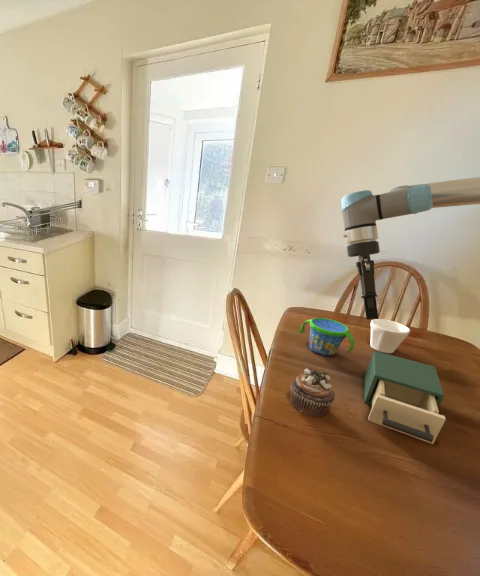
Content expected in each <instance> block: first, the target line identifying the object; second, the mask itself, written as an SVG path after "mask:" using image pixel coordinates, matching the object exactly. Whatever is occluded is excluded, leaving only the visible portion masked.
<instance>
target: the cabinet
mask: <svg viewBox="0 0 480 576" xmlns="http://www.w3.org/2000/svg"><path fill="white" fill-rule="evenodd" d="M377 379H381V380H385V381H388V382H391V383H395V384H398V385H401V386H405V387H408V388H411V389H415V390H418V391H421V392H425V393H428V394H431V395H434V396H435V400H436V403H437V407H438V408H440V405H441V404H442V401H443V399H444V397H445V394H444V390H443V386H442V384H441V381H440V377H439V374H438V372H437V369H436V366H435V365H430V364H427V363H424V362H419V361H415V360H412V359H407V358H405V357H404V358H403V357H400V356H396V355H393V354H387V353H382V352H378V351H376V350H373V353H372V356H371V358H370V361H369V363H368V366H367V369H366V372H365V374H364V394H363V395H364V397H363V400H364V401H363V402H364V404H367V405H369V406H372V392H373V390H374V387H375V385H376V382H377Z"/></svg>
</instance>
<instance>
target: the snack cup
mask: <svg viewBox="0 0 480 576" xmlns="http://www.w3.org/2000/svg"><path fill="white" fill-rule="evenodd" d="M307 323H309V326H310V329H309V341H308V348H309V349H310V350H311V352H314V353H316V354H320V355H321V356H323V357H324V356H329V357H330V356H334V355H335V354H336V353H337V351H338V350H339V347H340V346H341V344H342V342H343V341H344V340H345V338H346V337H347V338H348V340H349V343H350V346H349V347H348V350H347V351H346V353H347V354H349V353H350V352H352V351H353V349H354V347H355V338H354V335H353V334H352V333H351V332H350V329H349V327H348V326H347V325H345V324H344V323H342V322H340V321H338V320H335V319H332V318H331V319H330V318H325V317H314V318H311V319H307V320H305V321H304V322H303V323H302V324H301V326H300V328H299V333H300V334H301V335H303V334H304V333H305V329H306V327H305V326H306V324H307Z"/></svg>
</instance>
